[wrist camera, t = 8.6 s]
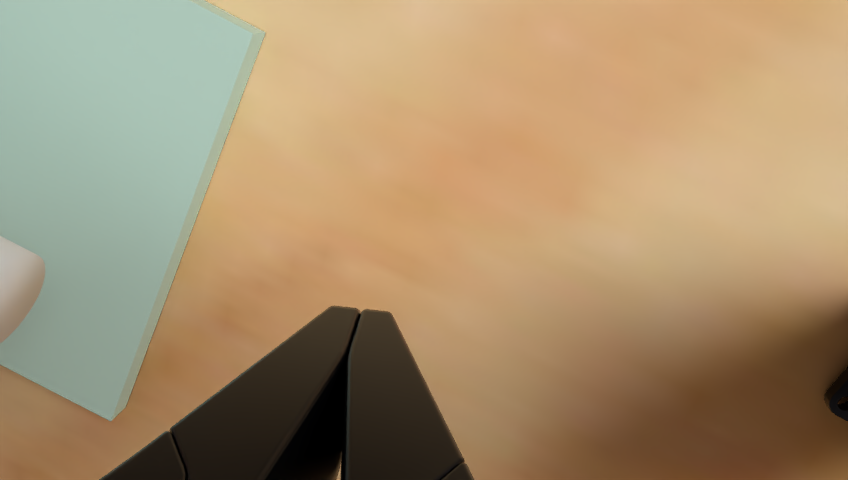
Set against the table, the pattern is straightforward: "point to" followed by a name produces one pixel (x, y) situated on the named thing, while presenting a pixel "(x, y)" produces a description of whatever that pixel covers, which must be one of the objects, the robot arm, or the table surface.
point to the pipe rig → (105, 176)
